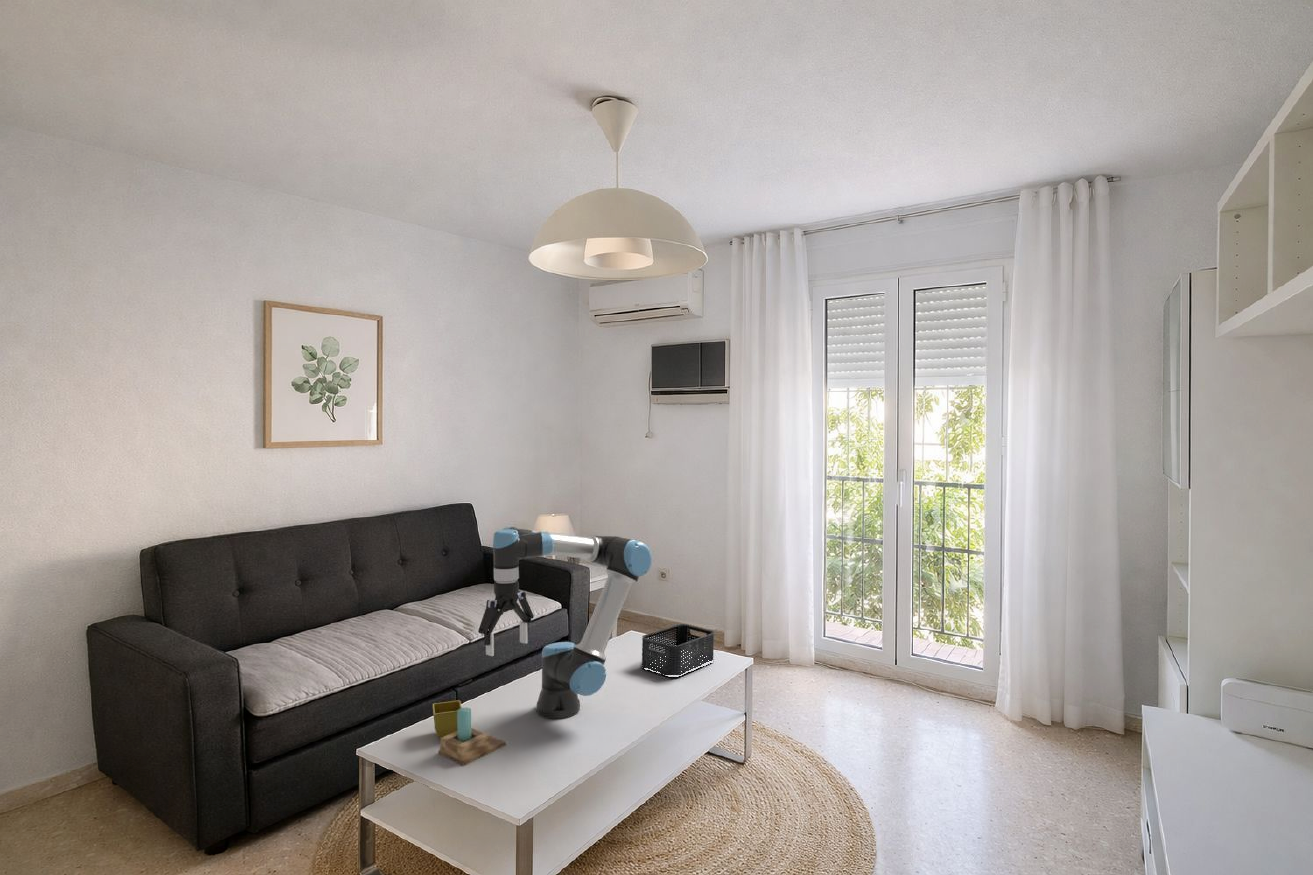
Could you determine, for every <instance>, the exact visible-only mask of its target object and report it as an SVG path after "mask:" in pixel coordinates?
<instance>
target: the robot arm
mask: <svg viewBox="0 0 1313 875" xmlns="http://www.w3.org/2000/svg"><path fill="white" fill-rule="evenodd" d="M492 549H493V551H492V552H493V554H492V555H493V580H494V582H493V594H494V595H495V597H494V600H493V599H492V600H490V599H487V600H486V605H485V609H484V610H485V611H484V613H483V616H482V619H481V622H480V624H479V628H478V631H477V633H479V634H481V635H484V636H483V637H484V639H483V641H484V642H483V644H484V645H485V655H486V656H490V657H493V656H495V654H494V653H495V641H494V640H495V639H494V637H495V636H494V633H493V631H494V629H495V628H496V626H497V624H498V621H499V620H500V618H501V616H502V615H503V614H504V613H507V612H508V611H513V612H514V613H515V614H516V615H517V616H518V617H519V619H520V620H521V621H519V643H522V644H528V640H529V639H528V632H529V631H530V630H529V629H530V628H529V627H530V626H529V624H530V623H532V619H534V616H535V615H534V613H533V611H532V609H531V606H530V605H529V602H528V599H527V593H526V592H525V591H520V583H519V582H520V581H519V580H518V579H520V573H519V572H520V570H519V568H520V567H519V561H520V560H523V559H532V558H537V557H543V556H547V555H548V556H556V557H557V556H558V557H567V558H574V559H583V560H585V561H586V562H587V563H594V564H596V565H600V566H603V567H605V568H606V570H605V572H606V575H607V578H606V581H605V583H604V586H603V588H602V591H601V593H600V595H599V598H598V600H597V602H596V604H595V607H594V610H593V613H592V615H591V617H590V619H589V621H588V624H587V627H586V629H585V632H584V634H583V636H582V638H581V641H580V642H579V643H578V644H575V643H574V642H570V641H561V642H560V641H559V642H554V643H553V642H552V643H549V644H547V645H545V646H544V647H543V648H542V651H541V689H540V693H539V696H538V700H537V702H536V708H535V709H536V713H537V714H538V716H541V717H542V718H547V719H565V718H569V717H572V716H575V715H577V714H578V713H579V712H580V711H581V710H580V709H581V701H580V699H579V696H578V695H580V696H582V697H588V696H592V695H594V694H596V693H598V691H600V690H601V689H602V687H603V685H604V684H605V682H606V678H607V672H606V671H607V670H606V668H605V663H606V660H607V658H606V656H605V651H606V648H607V646H608V643H609V641H610V638H611V635H612V633H613V632H614V628H615V626H616V624H617V621H618V619H619V615H620V614H621V612H622V609H623V606H624V603H625V601H626V599H627V596H628V595H629V591H630V589H631V587H632V586H633V585H636V584H637V583H638V580H639V578H640V577H643V576H644V575H645V574H647V573H648V572H649V571H650V569H651V567H652V560H653V559H652V553H651V550H650V548H649V547H648V546H647V544H646V543H644V542H642V541H639V540H637V539H630V538H626V537H622V536H618V535H617V536H616V535H615V536H613V535H610V536H609V535H607V536H605V535H591V534H590V535H589V536H587V537H586V536H579V535H578V536H577V535H571V534H564V533H563V534H562V533H554V532H548V531H542V530H541V531H540V530H533V529H532V530H530V529H525V528H518V527H515V526H506V527H503V528H502V529H497V531H495V532H494V533H493V541H492ZM518 602H519V603H518Z"/></svg>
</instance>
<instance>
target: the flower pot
mask: <svg viewBox="0 0 1313 875" xmlns="http://www.w3.org/2000/svg"><path fill="white" fill-rule="evenodd" d="M461 708H463V707H462V702H461V700H452V701H451V700H450V701H445V702H436V703H432V715H433V722H434V723H433V724H434V730H435V733H436V735H437V737H438V738H439V739H441V738H442V737H444V736H447V735H449V734H451V733H454V732H456V731H458V723H457V711H458V710H459V709H461Z"/></svg>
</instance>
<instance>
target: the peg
mask: <svg viewBox="0 0 1313 875" xmlns="http://www.w3.org/2000/svg"><path fill="white" fill-rule="evenodd" d="M457 723H458V740H459V741H461V742H466V741H468V740H470V739H471V728H472V708H471V707H462V708H461V709H459V710H458V711H457Z"/></svg>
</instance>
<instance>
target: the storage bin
mask: <svg viewBox="0 0 1313 875" xmlns="http://www.w3.org/2000/svg"><path fill="white" fill-rule="evenodd" d="M691 630H692V631H695V632H698V633H704V634H706V635H703V636H700V635H696V634H693V633H691ZM714 638H715V631H714V630H710V629H707V628H702V627H699V626H694V625H690V624H686V623H684V624H683V623H679V624H675V625H672V626H668V627H665V628H663V629H659V630H656V631H654V632H650V633H647V634H643V635H642V638H641V640H642V644H641V648H642V649H641V668H642V667H643V668H648V669H651V670H653V671H656V672H657V671H658V672H660V673H661V674H664V675H681V674H683V673H685V672H686V671H689V670H691V669H693V668H696V667H698V666H701V665H702V664H704V663H706V662H709V661H712V660H713V661H714V651H715V650H714V642H715V641H714ZM683 650H684V651H683ZM681 651H682V652H681ZM687 651H688V652H687ZM685 652H686V653H685ZM691 652H692V653H691ZM683 653H684V654H683ZM689 653H690V654H689ZM683 655H684V656H683ZM689 655H690V656H689ZM702 655H703V656H702ZM665 656H666V657H665ZM681 656H682V657H681ZM687 656H688V657H687ZM700 656H701V657H700ZM706 656H707V657H706ZM660 657H661V658H660ZM685 657H686V658H685ZM691 657H692V658H691ZM704 657H705V658H704ZM683 658H684V659H683ZM689 658H690V659H689ZM660 659H661V660H660ZM698 659H699V660H698ZM655 660H656V661H655ZM662 660H663V661H662ZM683 660H684V661H683ZM702 660H703V661H702ZM708 660H709V661H708ZM665 661H666V662H665ZM681 661H682V662H681ZM687 661H688V662H687ZM652 662H653V663H652ZM660 662H661V663H660ZM685 662H686V663H685ZM655 663H656V664H655ZM683 663H684V664H683ZM689 663H690V664H689ZM700 663H701V664H700ZM650 664H651V665H650ZM662 665H663V666H662ZM657 666H658V667H657ZM681 666H682V667H681ZM687 666H688V667H687ZM693 666H694V667H693ZM652 667H653V668H652ZM660 667H661V668H660ZM685 667H686V668H685ZM655 668H656V669H655ZM689 668H690V669H689ZM681 671H682V672H681Z"/></svg>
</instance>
